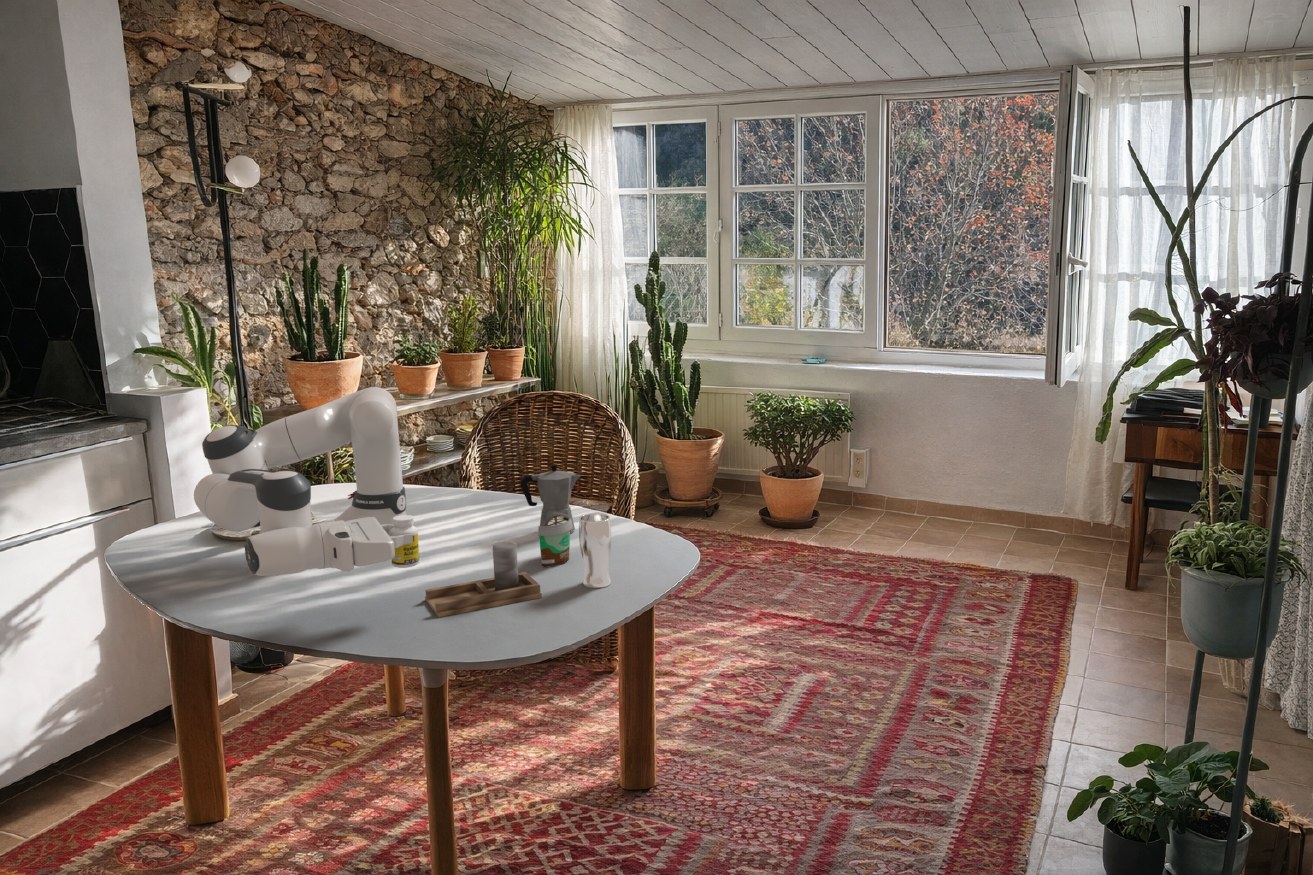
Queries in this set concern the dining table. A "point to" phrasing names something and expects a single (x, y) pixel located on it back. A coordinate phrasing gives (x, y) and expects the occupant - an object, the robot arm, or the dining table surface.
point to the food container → (555, 540)
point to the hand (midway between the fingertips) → (408, 533)
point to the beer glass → (595, 549)
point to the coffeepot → (552, 492)
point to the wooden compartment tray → (487, 587)
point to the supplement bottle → (407, 552)
